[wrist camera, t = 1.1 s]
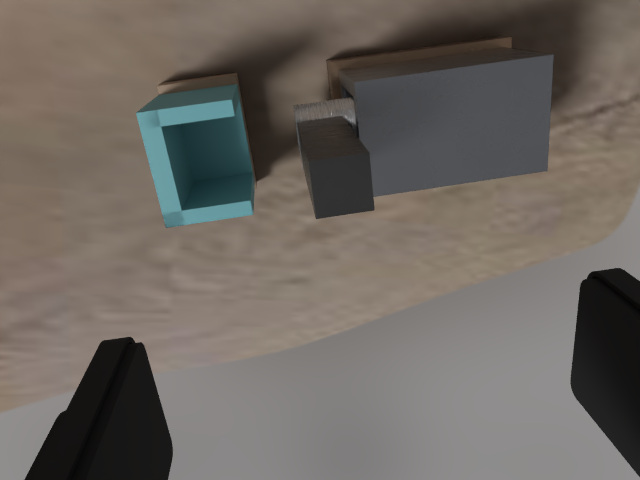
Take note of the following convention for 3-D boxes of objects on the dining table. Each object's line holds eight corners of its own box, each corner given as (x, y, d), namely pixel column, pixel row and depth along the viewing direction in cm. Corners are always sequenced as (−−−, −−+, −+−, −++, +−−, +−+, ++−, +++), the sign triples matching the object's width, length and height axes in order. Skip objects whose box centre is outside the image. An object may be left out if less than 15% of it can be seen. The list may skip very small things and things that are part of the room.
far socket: (237, 72, 32) (229, 89, 25) (256, 181, 35) (254, 223, 28) (161, 83, 32) (133, 102, 25) (187, 192, 35) (168, 236, 28)
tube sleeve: (501, 36, 33) (564, 42, 26) (499, 146, 36) (555, 178, 29) (326, 60, 32) (343, 73, 25) (338, 170, 35) (356, 208, 28)
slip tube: (486, 73, 31) (597, 103, 21) (486, 134, 32) (590, 191, 22) (292, 100, 30) (306, 146, 20) (300, 161, 32) (317, 232, 22)
